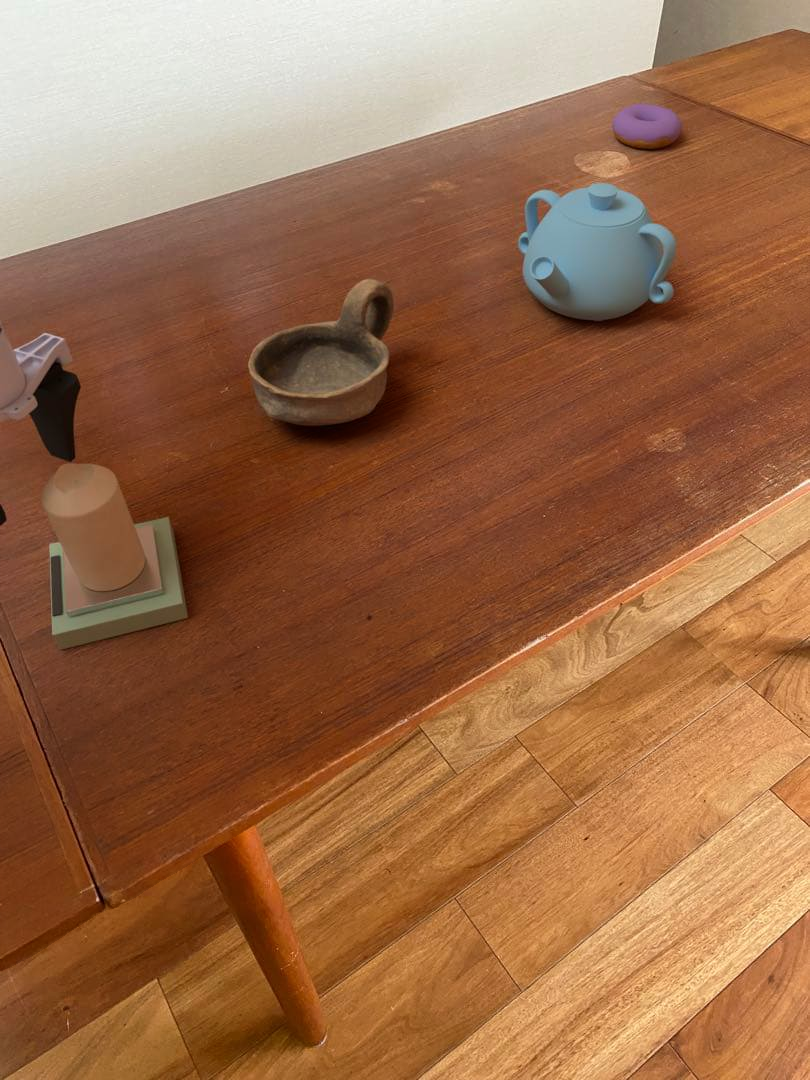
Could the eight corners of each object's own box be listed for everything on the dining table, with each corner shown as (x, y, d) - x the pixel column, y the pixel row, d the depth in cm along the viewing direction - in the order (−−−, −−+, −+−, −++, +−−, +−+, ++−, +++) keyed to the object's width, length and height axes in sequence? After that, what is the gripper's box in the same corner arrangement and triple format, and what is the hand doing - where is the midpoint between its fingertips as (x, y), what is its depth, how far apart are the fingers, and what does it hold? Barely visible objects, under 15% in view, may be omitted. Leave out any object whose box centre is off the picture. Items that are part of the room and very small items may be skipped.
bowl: (226, 413, 87) (206, 328, 79) (345, 334, 96) (337, 251, 88) (324, 471, 81) (312, 384, 73) (442, 381, 89) (442, 295, 82)
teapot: (698, 293, 99) (725, 185, 90) (608, 378, 89) (628, 266, 79) (552, 242, 108) (562, 139, 98) (455, 314, 98) (456, 207, 88)
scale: (60, 650, 67) (50, 633, 66) (56, 559, 74) (48, 542, 72) (188, 618, 69) (182, 601, 68) (173, 532, 76) (167, 514, 74)
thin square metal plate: (68, 617, 67) (65, 612, 67) (65, 550, 72) (62, 544, 71) (164, 594, 68) (162, 588, 68) (154, 529, 73) (152, 524, 73)
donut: (597, 139, 127) (605, 103, 124) (626, 132, 133) (635, 97, 130) (658, 156, 122) (668, 119, 119) (686, 148, 128) (696, 112, 125)
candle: (65, 563, 70) (20, 472, 63) (126, 530, 72) (90, 439, 65) (95, 603, 67) (53, 513, 60) (158, 568, 69) (125, 476, 62)
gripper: (-86, 416, 51) (0, 567, 61) (78, 294, 60) (130, 443, 70) (-168, 387, 53) (-72, 537, 63) (2, 272, 62) (63, 421, 72)
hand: (29, 486), depth 67 cm, fingers open, 7 cm apart
